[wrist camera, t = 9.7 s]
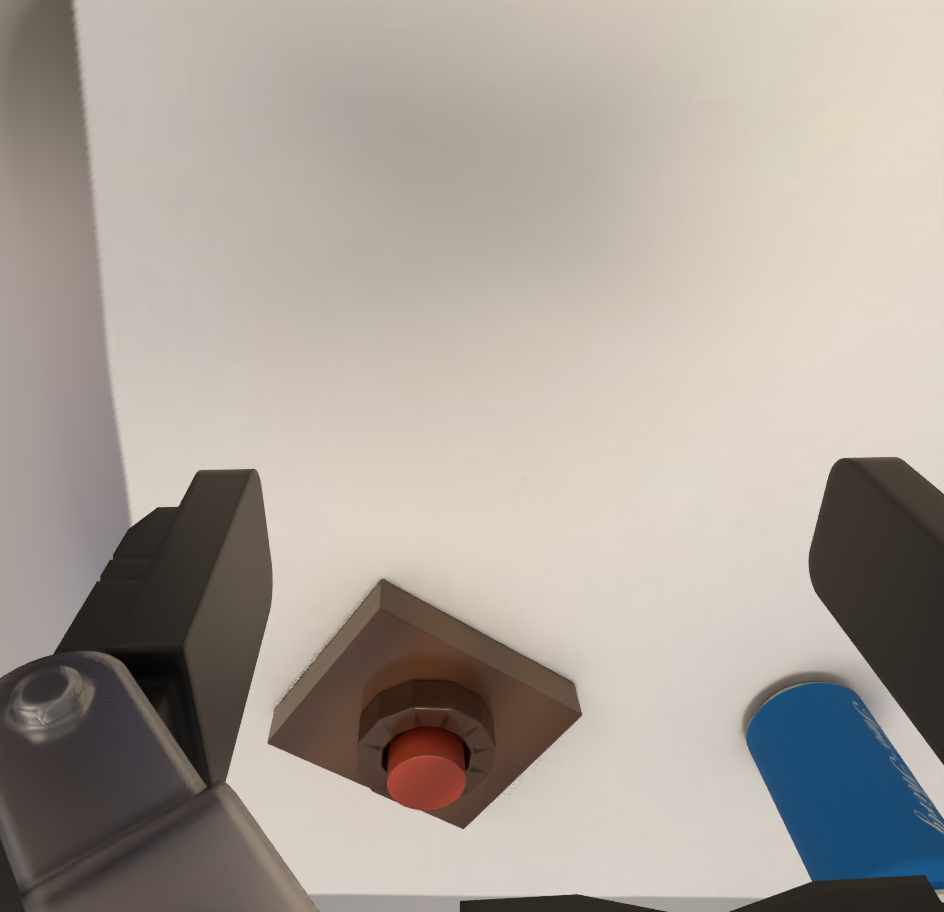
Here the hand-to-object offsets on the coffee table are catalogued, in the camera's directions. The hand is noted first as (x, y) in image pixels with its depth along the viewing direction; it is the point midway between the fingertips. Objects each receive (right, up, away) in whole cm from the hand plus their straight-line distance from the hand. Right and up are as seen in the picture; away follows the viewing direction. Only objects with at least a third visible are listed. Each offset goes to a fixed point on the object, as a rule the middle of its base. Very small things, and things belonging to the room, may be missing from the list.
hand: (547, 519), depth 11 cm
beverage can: (+17, -13, +32) cm, 38 cm away
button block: (-3, -12, +29) cm, 32 cm away
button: (-3, -13, +26) cm, 29 cm away
